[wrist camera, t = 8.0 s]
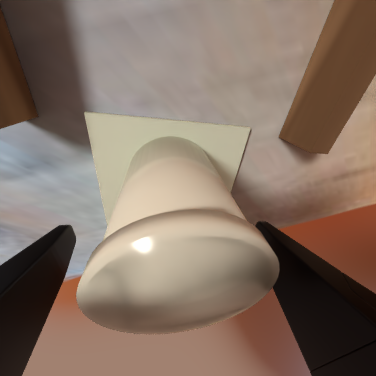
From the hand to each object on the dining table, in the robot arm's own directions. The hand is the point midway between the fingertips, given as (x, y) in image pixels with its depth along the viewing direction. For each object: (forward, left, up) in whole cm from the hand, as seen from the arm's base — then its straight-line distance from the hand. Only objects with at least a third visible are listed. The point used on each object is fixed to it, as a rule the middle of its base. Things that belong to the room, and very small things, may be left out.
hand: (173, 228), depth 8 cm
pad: (0, 0, -5) cm, 5 cm away
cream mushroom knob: (0, +1, -5) cm, 5 cm away
